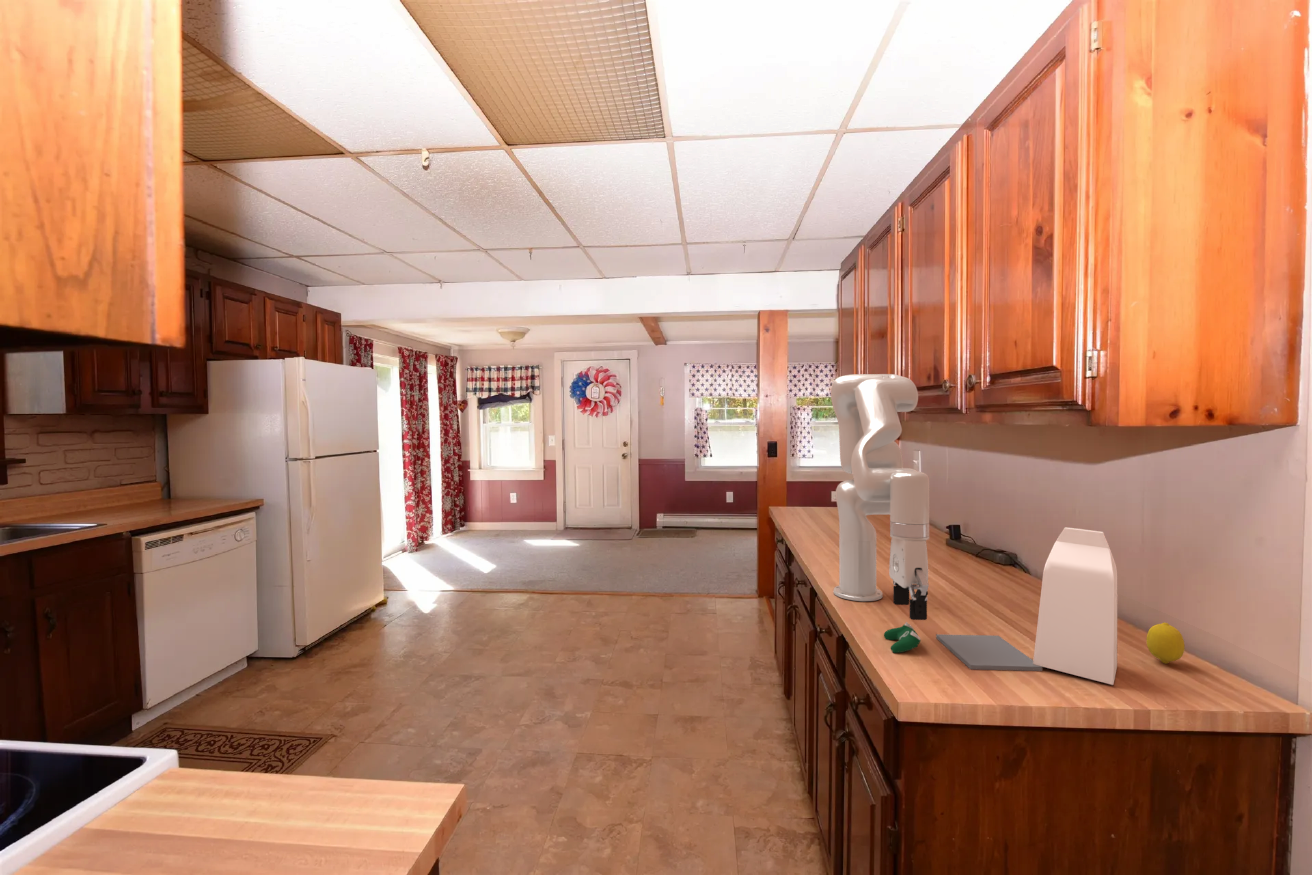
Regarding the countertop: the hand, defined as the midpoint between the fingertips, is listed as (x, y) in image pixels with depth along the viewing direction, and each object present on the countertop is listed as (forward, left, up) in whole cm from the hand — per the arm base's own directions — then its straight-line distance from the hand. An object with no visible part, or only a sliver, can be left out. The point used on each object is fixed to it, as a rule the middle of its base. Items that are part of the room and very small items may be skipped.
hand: (909, 611), depth 120 cm
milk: (+9, +28, -7) cm, 30 cm away
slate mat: (+3, +14, -7) cm, 16 cm away
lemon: (+6, +46, -8) cm, 47 cm away
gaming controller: (0, -1, -8) cm, 8 cm away
